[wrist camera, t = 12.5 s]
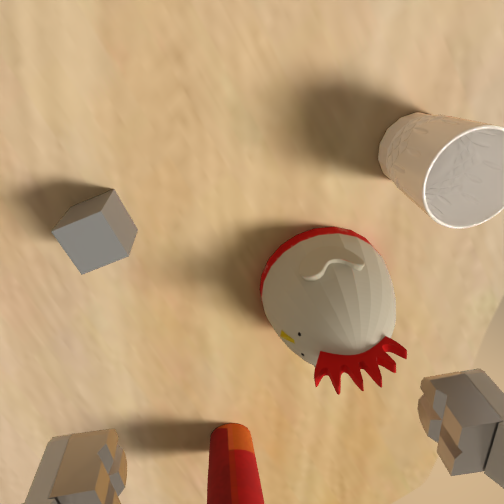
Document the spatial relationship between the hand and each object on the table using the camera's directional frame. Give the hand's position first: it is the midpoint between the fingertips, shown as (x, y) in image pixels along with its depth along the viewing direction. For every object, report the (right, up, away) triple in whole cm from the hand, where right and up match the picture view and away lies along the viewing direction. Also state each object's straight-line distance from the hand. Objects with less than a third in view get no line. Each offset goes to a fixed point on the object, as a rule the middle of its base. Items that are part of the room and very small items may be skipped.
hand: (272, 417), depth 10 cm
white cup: (+15, +14, +28) cm, 34 cm away
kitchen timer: (+7, +1, +34) cm, 35 cm away
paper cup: (-3, -21, +44) cm, 49 cm away
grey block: (-15, +8, +27) cm, 32 cm away
